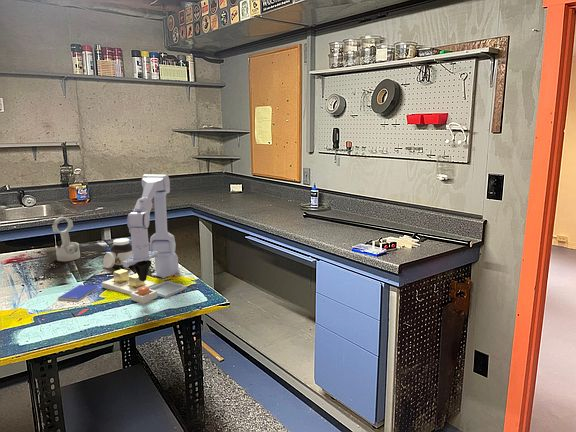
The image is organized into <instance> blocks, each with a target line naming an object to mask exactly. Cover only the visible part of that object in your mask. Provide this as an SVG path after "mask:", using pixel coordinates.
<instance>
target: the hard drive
mask: <svg viewBox="0 0 576 432" xmlns="http://www.w3.org/2000/svg"><path fill="white" fill-rule="evenodd" d="M98 289H99V287H98V286H97V285H85V284H79V285H77V286H75V287H74V288H72V289H70V290H69V291H67V292H65V293H63V294H62V295H60V296H58V297H57V300H59V301H71V302H79V301H81V300H82V299H84V298H86V297H87V296H88V295H90V294H92V293H93V292H94V291H96V290H98Z"/></svg>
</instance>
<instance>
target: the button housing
mask: <svg viewBox="0 0 576 432" xmlns="http://www.w3.org/2000/svg"><path fill="white" fill-rule="evenodd" d="M149 292H150V293H149V294H146V295H144V296H142V295H138V290H137V291H135V292H133V293H130V294H131V295H130V301H134V302H136V303H139V304H143V305H144V304H147V303H148V302H151V301H152V300H155V299H157V298H158V296H157V291H155V290H151V289H149Z"/></svg>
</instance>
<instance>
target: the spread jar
mask: <svg viewBox="0 0 576 432" xmlns="http://www.w3.org/2000/svg"><path fill="white" fill-rule="evenodd" d="M112 242H113V245H112V246H110V248H109V249H110V250H109V252H107V253H106V254H104V256H103V259H102V260H103V261H102V262H103V267H104V268H106V269H111V268H113V267H114V266H115V267H118V268H124V267H123V261H125V260H127V259H129V258H131V257H133V253H132V243H131V242H130V238H127V237H125V238H124V237H121V238H115V239H113V241H112Z"/></svg>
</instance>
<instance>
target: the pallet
mask: <svg viewBox="0 0 576 432" xmlns="http://www.w3.org/2000/svg"><path fill="white" fill-rule="evenodd" d="M155 285H158V284H157V282H154V281H150V280H147V279H146V281H145V285H144V286H147V287H149V288H150V287H153V286H155ZM141 287H143V286H141ZM101 288H104V289H107V290H110V291H112V292H114V291H116V292H118V293H123V294H125V295H129V296H131V294H130V293H133V292H135V291H137V290H138V288H136V289H135V288H131V287H130V285H129V281H127V282H125V283H122V284H118V283H115V282H114V277H113V278H110V279H108V280H104V281H101Z"/></svg>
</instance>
